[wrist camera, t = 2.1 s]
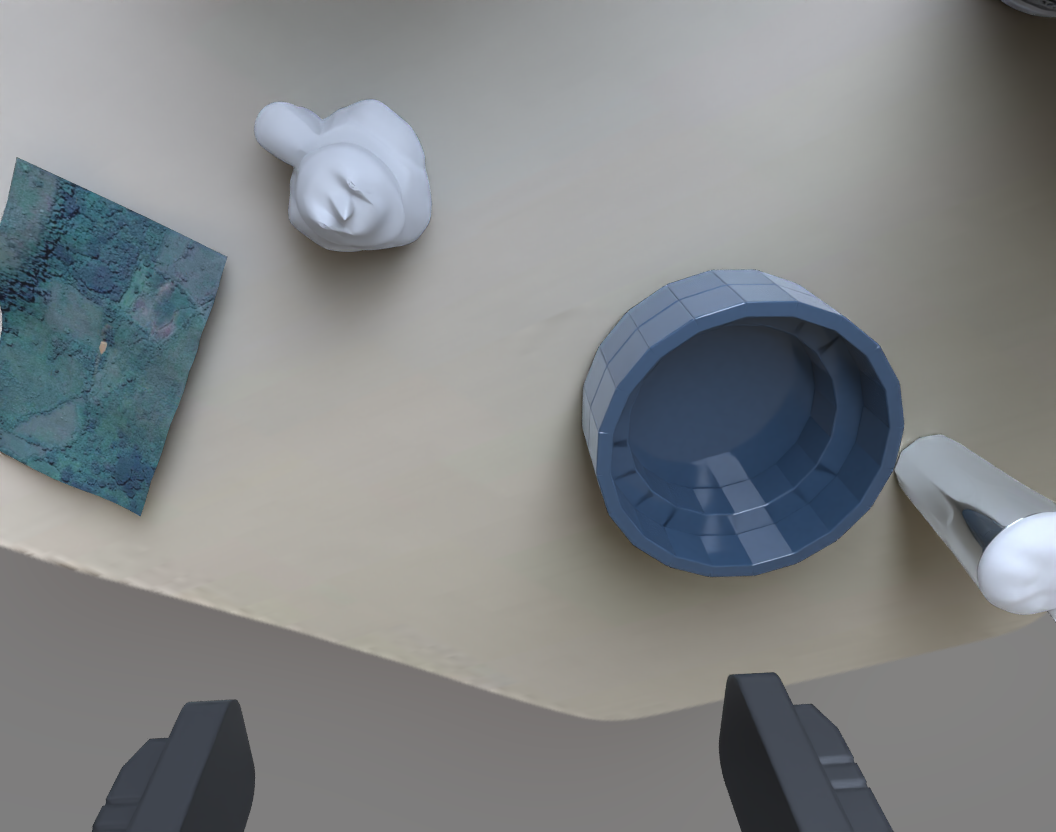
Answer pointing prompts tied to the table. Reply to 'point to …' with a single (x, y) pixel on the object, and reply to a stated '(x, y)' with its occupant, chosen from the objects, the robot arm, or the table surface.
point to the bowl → (739, 423)
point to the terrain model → (94, 334)
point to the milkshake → (985, 522)
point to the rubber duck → (350, 174)
